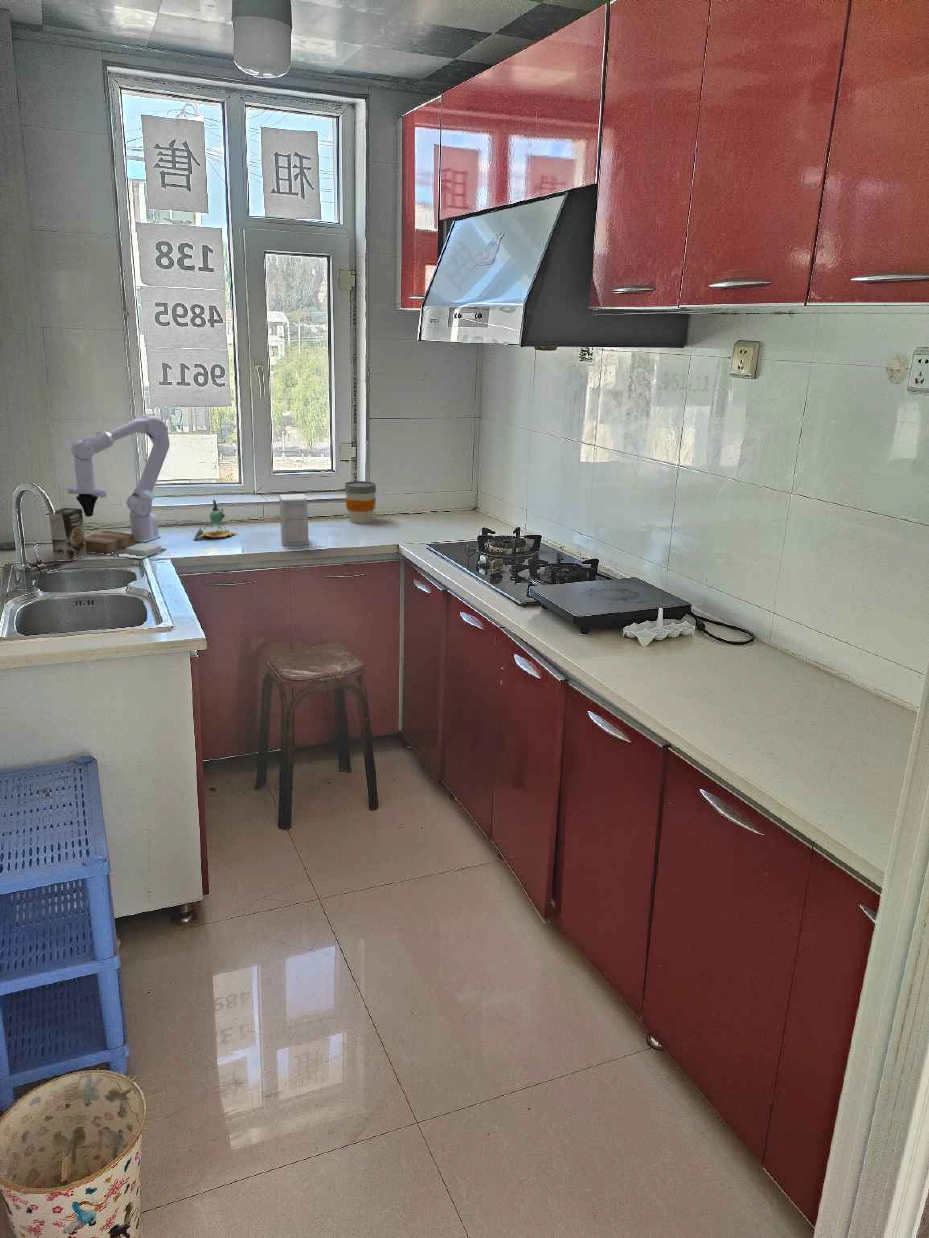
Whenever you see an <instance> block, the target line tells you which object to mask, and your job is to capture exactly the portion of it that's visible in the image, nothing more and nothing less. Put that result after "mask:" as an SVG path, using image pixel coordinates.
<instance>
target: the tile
mask: <svg viewBox="0 0 929 1238" xmlns="http://www.w3.org/2000/svg"><path fill="white" fill-rule="evenodd" d="M161 548H162V546H161V545H159V544H153V543H147V542H145V543H143V542H138V543H137V544H135V545H134V546H131V547H128V548H126V554H130V555H137V556H150V555H152V556H154V555H153V554H155V553H158V552H160V553H162V552H161ZM158 554H159V553H158ZM155 555H156V554H155ZM150 557H151V556H150Z"/></svg>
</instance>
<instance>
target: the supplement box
mask: <svg viewBox="0 0 929 1238" xmlns="http://www.w3.org/2000/svg"><path fill="white" fill-rule="evenodd" d="M279 515H280V517H279V518H280V519H279V520H280V539H281V543H282V546H283V547H285V546H303V545H305V546H306V545H307V546H309V542H310V541H309V520H308V519H309V517H308V515H309V514H308V499H307V497H306V494H305V493H300V494H299V493H298V494H296V493H294V494H291V493H290V494H279Z"/></svg>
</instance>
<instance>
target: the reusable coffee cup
mask: <svg viewBox="0 0 929 1238" xmlns="http://www.w3.org/2000/svg"><path fill="white" fill-rule="evenodd" d="M344 484H345V485H344V492H345V499H344V500H345V505H346V510H347V512H348V514H347V515H348V522H350V523H353V524H368V523H371V522H372V521H373V514H374V513H373V512H374V510H375V505H376V492H377V486H376V485H377V484H376V483H375V482H373V481H366V480H365V481H364V480H354V481H347V482H345V483H344Z"/></svg>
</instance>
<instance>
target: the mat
mask: <svg viewBox="0 0 929 1238" xmlns="http://www.w3.org/2000/svg"><path fill="white" fill-rule="evenodd" d="M133 546H134V545H133ZM130 547H131V546H130ZM127 548H128V547H127ZM165 550H166V551H168V549H167V548H165V547H164V548H163V547H161V552H160V553H163V552H165ZM125 553H126V548H124V549H121V550H118V551H116V552H113V553H110V555H117V556H119V554H125ZM110 555H109V556H110ZM129 555H130V554H129ZM155 555H157V554H156V553H155ZM155 555H154V554H153V555H150V557H152V556H155ZM136 556H137V555H136Z"/></svg>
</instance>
